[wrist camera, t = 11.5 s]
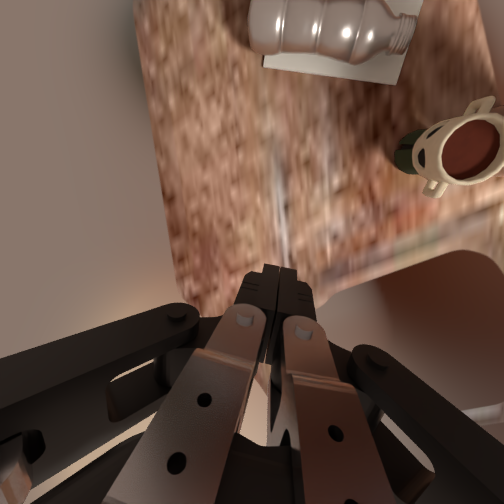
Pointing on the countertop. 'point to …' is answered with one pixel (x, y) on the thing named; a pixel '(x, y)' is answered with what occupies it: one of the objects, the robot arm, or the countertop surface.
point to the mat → (371, 71)
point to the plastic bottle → (329, 29)
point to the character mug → (456, 149)
